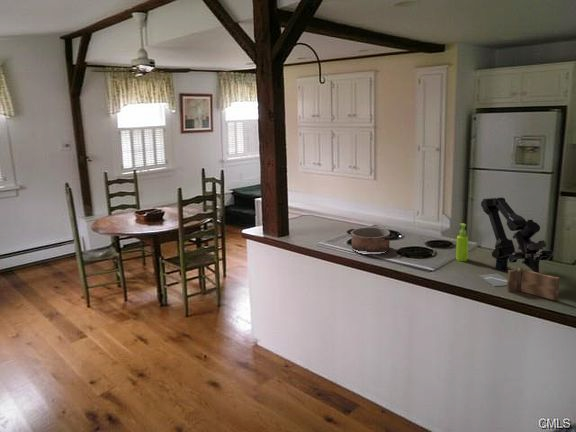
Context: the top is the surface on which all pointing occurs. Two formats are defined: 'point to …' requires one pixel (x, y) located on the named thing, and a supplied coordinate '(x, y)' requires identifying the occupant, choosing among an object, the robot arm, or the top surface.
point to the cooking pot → (370, 239)
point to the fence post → (514, 280)
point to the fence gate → (540, 285)
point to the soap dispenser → (462, 245)
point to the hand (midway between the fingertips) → (537, 273)
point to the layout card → (495, 279)
